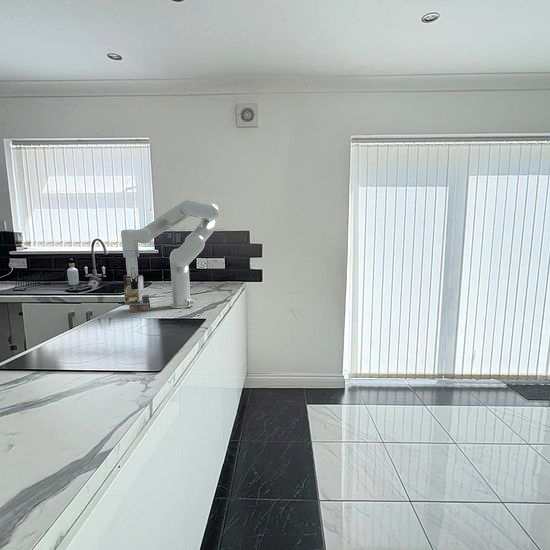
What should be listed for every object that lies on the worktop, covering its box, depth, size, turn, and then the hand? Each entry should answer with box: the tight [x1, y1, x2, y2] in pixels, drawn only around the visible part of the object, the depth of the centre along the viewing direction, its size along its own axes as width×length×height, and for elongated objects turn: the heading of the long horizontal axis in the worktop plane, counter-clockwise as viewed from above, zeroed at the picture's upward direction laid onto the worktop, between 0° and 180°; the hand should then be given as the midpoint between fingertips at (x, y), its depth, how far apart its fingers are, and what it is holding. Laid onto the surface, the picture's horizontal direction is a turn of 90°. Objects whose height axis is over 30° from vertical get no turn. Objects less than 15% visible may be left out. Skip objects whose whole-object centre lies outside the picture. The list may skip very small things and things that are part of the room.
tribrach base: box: [128, 304, 152, 313], centre depth 182 cm, size 10×8×3 cm
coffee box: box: [122, 274, 145, 305], centre depth 199 cm, size 9×6×16 cm
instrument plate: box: [128, 294, 151, 306], centre depth 181 cm, size 10×8×4 cm
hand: (134, 288), depth 180 cm, fingers closed
